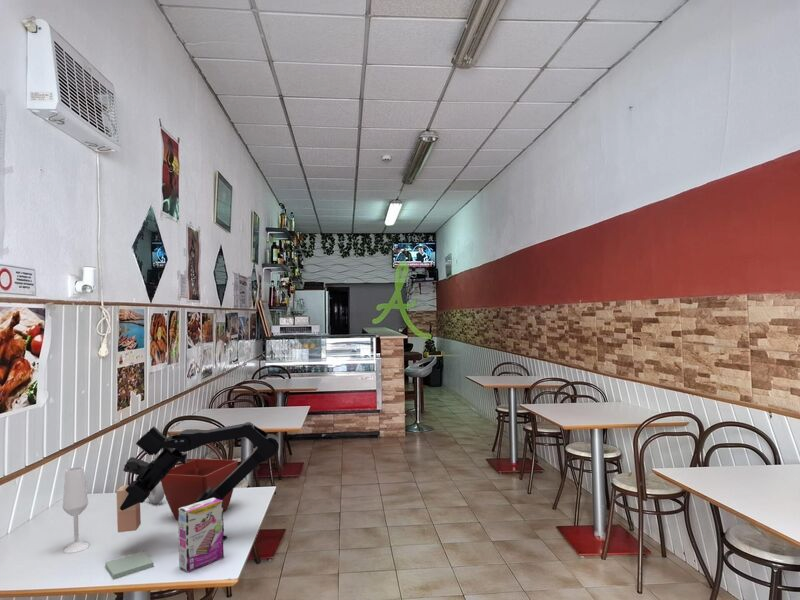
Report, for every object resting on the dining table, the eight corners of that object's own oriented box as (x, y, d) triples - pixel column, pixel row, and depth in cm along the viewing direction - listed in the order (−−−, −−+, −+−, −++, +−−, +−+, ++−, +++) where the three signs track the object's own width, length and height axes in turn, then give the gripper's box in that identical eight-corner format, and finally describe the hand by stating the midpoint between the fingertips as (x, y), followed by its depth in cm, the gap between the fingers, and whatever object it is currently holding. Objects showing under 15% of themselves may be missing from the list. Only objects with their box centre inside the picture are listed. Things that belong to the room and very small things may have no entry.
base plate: (143, 555, 155) (143, 551, 156) (153, 566, 148) (153, 562, 148) (105, 566, 149) (105, 562, 149) (113, 579, 141) (113, 574, 141)
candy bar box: (188, 573, 143) (186, 511, 143) (178, 568, 146) (176, 508, 147) (225, 557, 152) (223, 499, 152) (215, 553, 155) (213, 496, 155)
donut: (167, 504, 199) (166, 477, 199) (158, 507, 196) (157, 479, 197) (153, 499, 205) (152, 473, 205) (144, 502, 202) (143, 475, 203)
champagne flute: (66, 545, 165) (64, 467, 166) (91, 541, 167) (89, 464, 168) (61, 554, 159) (59, 473, 159) (87, 550, 161) (84, 470, 162)
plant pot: (159, 523, 181) (157, 473, 181) (197, 503, 199) (195, 458, 199) (206, 527, 175) (204, 475, 175) (241, 507, 193) (239, 460, 193)
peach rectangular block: (140, 524, 162) (139, 484, 162) (136, 530, 157) (134, 489, 157) (122, 526, 161) (121, 486, 161) (117, 532, 156) (116, 491, 156)
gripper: (149, 441, 169) (112, 480, 167) (132, 455, 151) (90, 499, 149) (176, 463, 171) (140, 502, 168) (163, 480, 153) (122, 524, 150)
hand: (123, 506), depth 159 cm, fingers closed on peach rectangular block, 5 cm apart
